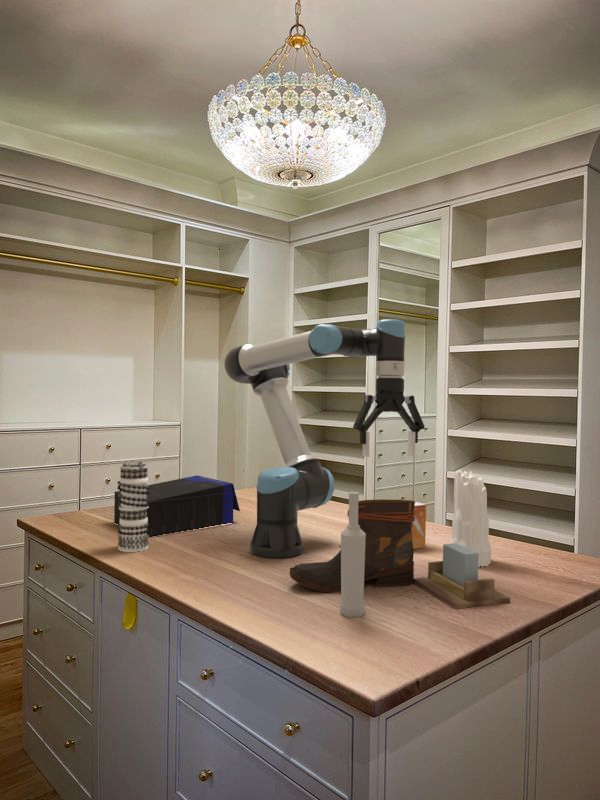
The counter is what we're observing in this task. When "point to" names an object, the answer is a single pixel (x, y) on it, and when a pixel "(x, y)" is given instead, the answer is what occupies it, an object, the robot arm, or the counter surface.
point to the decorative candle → (133, 507)
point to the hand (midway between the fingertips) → (388, 456)
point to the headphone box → (187, 505)
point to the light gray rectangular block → (459, 563)
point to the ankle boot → (371, 549)
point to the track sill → (460, 589)
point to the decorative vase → (471, 516)
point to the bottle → (352, 563)
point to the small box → (419, 526)
